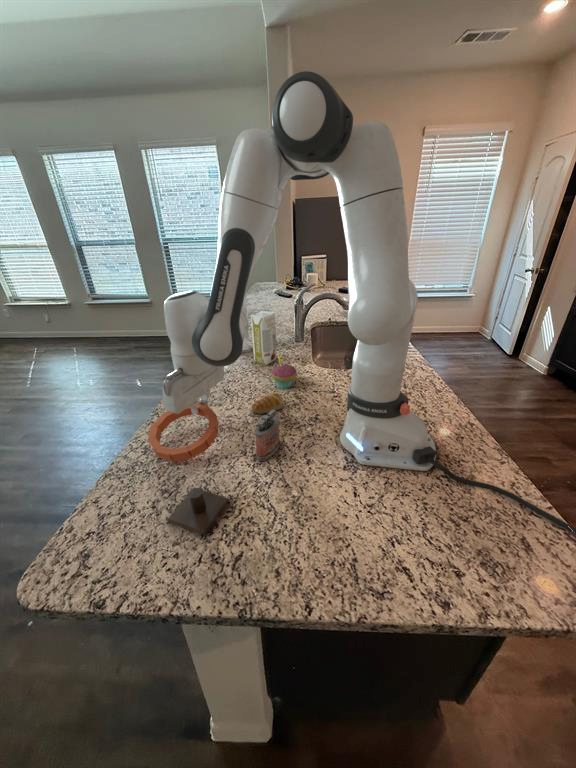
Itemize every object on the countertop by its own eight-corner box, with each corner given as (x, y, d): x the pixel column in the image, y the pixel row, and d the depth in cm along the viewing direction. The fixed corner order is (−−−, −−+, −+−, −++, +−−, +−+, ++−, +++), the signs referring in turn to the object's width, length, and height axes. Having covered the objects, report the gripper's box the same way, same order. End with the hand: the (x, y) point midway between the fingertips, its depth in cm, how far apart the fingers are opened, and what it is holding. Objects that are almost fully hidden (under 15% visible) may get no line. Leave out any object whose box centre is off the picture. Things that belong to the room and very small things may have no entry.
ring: (230, 416, 80) (227, 410, 79) (195, 468, 69) (191, 461, 68) (178, 405, 86) (175, 398, 84) (138, 451, 74) (134, 444, 73)
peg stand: (228, 501, 62) (225, 483, 59) (205, 535, 55) (201, 516, 53) (194, 491, 64) (191, 472, 62) (168, 522, 58) (163, 503, 55)
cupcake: (267, 388, 103) (265, 354, 98) (278, 377, 110) (276, 345, 105) (291, 392, 101) (291, 358, 95) (300, 381, 108) (300, 349, 102)
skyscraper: (230, 347, 138) (223, 282, 125) (247, 344, 141) (242, 280, 128) (235, 354, 131) (228, 285, 118) (253, 351, 134) (249, 283, 121)
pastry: (260, 418, 88) (259, 407, 86) (247, 409, 92) (246, 397, 91) (286, 407, 93) (285, 396, 91) (272, 398, 98) (272, 387, 96)
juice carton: (279, 358, 126) (277, 312, 117) (266, 366, 119) (264, 317, 111) (264, 355, 129) (261, 309, 121) (251, 362, 123) (247, 314, 114)
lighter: (264, 462, 72) (262, 426, 67) (252, 457, 73) (249, 422, 69) (283, 443, 78) (282, 409, 73) (272, 439, 79) (270, 405, 75)
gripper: (174, 381, 65) (184, 434, 72) (225, 348, 82) (230, 393, 88) (150, 376, 67) (162, 429, 74) (205, 345, 84) (211, 390, 91)
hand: (200, 409), depth 81 cm, fingers closed on ring, 2 cm apart
